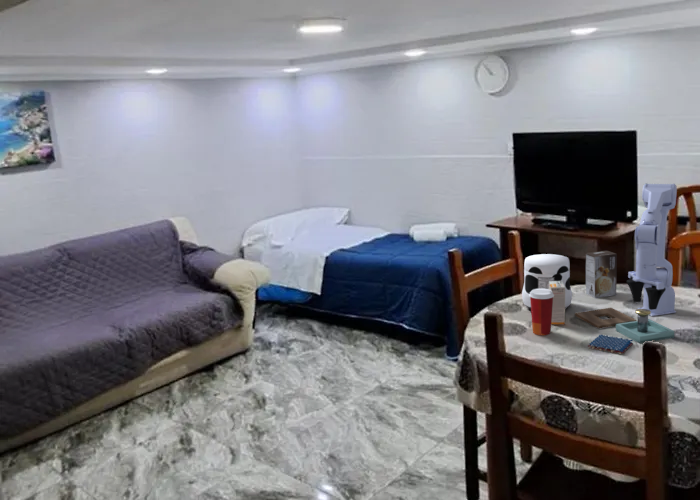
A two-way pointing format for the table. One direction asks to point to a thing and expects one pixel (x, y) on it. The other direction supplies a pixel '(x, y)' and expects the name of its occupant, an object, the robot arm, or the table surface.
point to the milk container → (545, 275)
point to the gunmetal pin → (642, 320)
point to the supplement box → (558, 302)
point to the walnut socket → (614, 319)
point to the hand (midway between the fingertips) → (644, 305)
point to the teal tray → (653, 333)
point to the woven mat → (610, 344)
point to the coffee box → (601, 273)
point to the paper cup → (541, 311)
